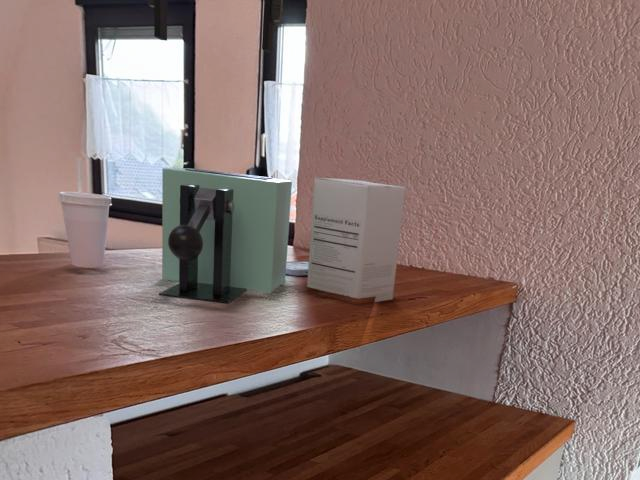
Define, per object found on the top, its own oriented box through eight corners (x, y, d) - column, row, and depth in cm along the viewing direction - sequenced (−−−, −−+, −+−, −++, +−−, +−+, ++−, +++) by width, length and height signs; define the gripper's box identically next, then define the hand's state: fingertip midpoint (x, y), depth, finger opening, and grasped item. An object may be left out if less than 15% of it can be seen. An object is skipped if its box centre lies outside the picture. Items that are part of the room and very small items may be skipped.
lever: (199, 268, 77) (196, 237, 75) (165, 264, 77) (161, 233, 75) (226, 215, 86) (224, 185, 83) (196, 211, 86) (193, 181, 83)
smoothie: (68, 266, 99) (63, 154, 93) (117, 271, 100) (115, 160, 94) (56, 274, 93) (49, 154, 87) (108, 279, 94) (105, 161, 88)
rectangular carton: (342, 289, 107) (353, 179, 101) (394, 300, 102) (408, 186, 96) (303, 293, 100) (312, 175, 94) (356, 306, 95) (369, 183, 89)
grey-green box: (271, 300, 93) (278, 181, 87) (160, 286, 93) (161, 166, 87) (285, 287, 103) (293, 179, 97) (186, 275, 103) (188, 166, 98)
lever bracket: (227, 312, 83) (232, 192, 78) (158, 303, 83) (158, 183, 78) (246, 298, 92) (251, 190, 87) (184, 290, 92) (185, 182, 87)
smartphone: (348, 268, 123) (295, 270, 110) (347, 275, 123) (294, 278, 111) (312, 261, 126) (257, 262, 114) (311, 267, 126) (256, 269, 114)
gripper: (99, -195, 81) (105, 28, 89) (323, -170, 80) (307, 51, 88) (124, -166, 87) (127, 38, 96) (330, -143, 87) (315, 60, 95)
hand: (213, 45), depth 92 cm, fingers open, 13 cm apart
